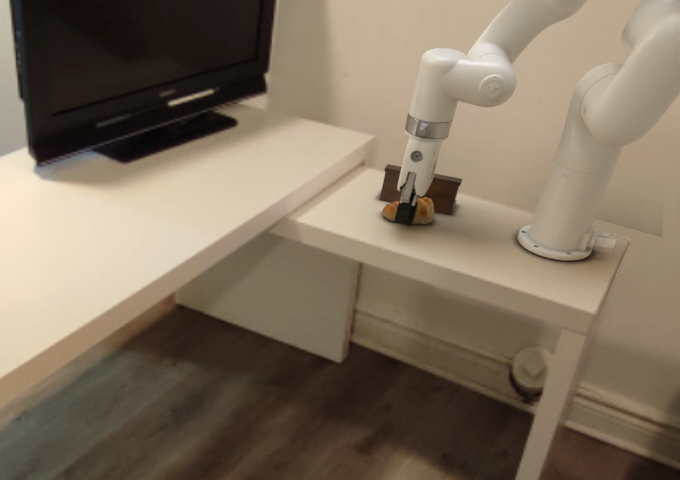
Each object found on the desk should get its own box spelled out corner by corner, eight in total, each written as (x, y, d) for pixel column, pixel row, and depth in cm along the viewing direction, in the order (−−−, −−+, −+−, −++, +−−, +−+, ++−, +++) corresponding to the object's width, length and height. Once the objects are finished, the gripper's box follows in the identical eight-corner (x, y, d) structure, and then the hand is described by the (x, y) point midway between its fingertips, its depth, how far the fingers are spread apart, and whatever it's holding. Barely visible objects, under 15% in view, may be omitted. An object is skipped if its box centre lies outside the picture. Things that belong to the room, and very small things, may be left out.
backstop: (456, 206, 157) (465, 173, 153) (451, 215, 154) (460, 182, 150) (384, 190, 162) (391, 159, 158) (378, 199, 159) (385, 167, 155)
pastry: (388, 226, 150) (392, 207, 148) (376, 210, 155) (380, 192, 153) (435, 224, 151) (440, 206, 148) (422, 209, 156) (426, 191, 154)
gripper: (441, 144, 131) (415, 243, 142) (457, 116, 141) (431, 211, 153) (396, 135, 133) (373, 233, 145) (415, 109, 144) (393, 202, 155)
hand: (403, 221), depth 149 cm, fingers closed
